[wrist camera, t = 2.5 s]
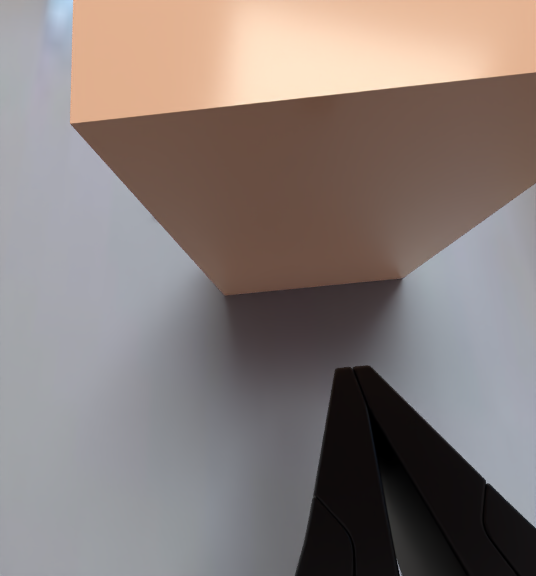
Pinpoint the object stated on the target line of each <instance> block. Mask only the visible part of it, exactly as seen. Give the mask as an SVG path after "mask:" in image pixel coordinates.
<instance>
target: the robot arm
mask: <svg viewBox="0 0 536 576" xmlns="http://www.w3.org/2000/svg"><path fill="white" fill-rule="evenodd" d="M313 497H314V498H313V499H312V504H311V510H310V516H309V521H308V525H307V530H306V535H305V540H304V545H303V548H302V552H301V555H300V559H299V563H298V566H297V570H296V573H295V576H400V575H399V570H398V564H399V567H400V570H401V573H402V576H536V528H535V527H534V526H533V525H532V524H531V523H529V522H528V521H527V520H526V519H525V518H524V517H523V516H522V515H521V514H520V513H519V512H518V511H517V510H516V509H515V508H514V507H513V506H512V505H511V504H509V503H508V502H507V501H506V500H505V499H504V498H503V497H502V496H501V495H500V494H499V493H498V492H497V491H496V490H495V489H494V488H493V487H492V486H491V485H490V484H488V483H487V484H486V480H485V479H484V478H483V477H482V476H481V475H480V474H479V473H478V472H477V471H476V470H475V469H474V468H473V467H472V466H471V465H470V464H469V463H468V462H467V461H466V460H465V459H464V458H463V457H462V456H461V455H460V454H459V453H458V452H457V451H456V450H455V449H454V448H453V447H452V446H451V445H450V444H449V443H448V442H447V441H446V440H445V439H444V438H443V437H442V436H441V435H439V434H438V433H437V432H436V431H435V430H434V429H433V428H432V427H431V426H430V425H429V424H428V423H427V422H426V421H425V420H424V419H423V418H422V417H421V416H420V415H419V414H418V413H417V412H416V411H415V410H414V409H413V408H412V407H411V406H410V405H409V404H408V403H407V402H406V401H405V400H404V399H403V398H402V397H401V396H400V395H399V394H398V393H397V392H396V391H395V390H394V389H393V388H392V387H391V386H390V385H389V384H388V383H387V382H386V381H385V380H384V379H383V378H382V377H381V376H380V375H379V374H378V373H377V372H376V371H375V370H374V369H373V368H372V367H370V366H368V365H366V366H355V367H353V369H352V368H351V367H344V368H337V369H335V373H334V378H333V384H332V390H331V396H330V401H329V407H328V413H327V419H326V425H325V430H324V436H323V442H322V448H321V453H320V459H319V465H318V471H317V476H316V482H315V488H314V494H313ZM396 558H397V559H396ZM397 561H398V564H397Z"/></svg>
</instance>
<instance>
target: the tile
mask: <svg viewBox="0 0 536 576" xmlns="http://www.w3.org/2000/svg"><path fill="white" fill-rule="evenodd" d="M70 124H71V125H72V126H73V127H74V128H75V130H76V131H77V132H78V133H79V134H80V135H81V136H82V137H83V139H84V140H85V141H86V142H87V143H88V144H89V145H90V146H91V147H92V149H93V150H94V151H95V152H96V153H97V154H98V155H99V156H100V157H101V159H102V160H103V161H104V162H105V163H106V164H107V165H108V166H109V167H110V169H111V170H112V171H113V172H114V173H115V174H116V175H117V176H118V178H119V179H120V180H121V181H122V182H123V183H124V184H125V185H126V186H127V188H128V189H129V190H130V191H131V192H132V193H133V194H134V195H135V196H136V198H137V199H138V200H139V201H140V202H141V203H142V204H143V205H144V206H145V208H146V209H147V210H148V211H149V212H150V213H151V214H152V215H153V216H154V218H155V219H156V220H157V221H158V222H159V223H160V224H161V225H162V227H163V228H164V229H165V230H166V231H167V232H168V233H169V234H170V235H171V237H172V238H173V239H174V240H175V241H176V242H177V243H178V244H179V245H180V247H181V248H182V249H183V250H184V251H185V252H186V253H187V254H188V255H189V257H190V258H191V259H192V260H193V261H194V262H195V263H196V264H197V266H198V267H199V268H200V269H201V270H202V271H203V272H204V273H205V274H206V276H207V277H208V278H209V279H210V280H211V281H212V282H213V283H214V284H215V286H216V287H217V288H218V289H219V290H220V291H221V292H222V293H223V294H224V296H225V295H235V294H246V293H256V292H266V291H277V290H287V289H297V288H308V287H318V286H328V285H339V284H349V283H360V282H370V281H380V280H391V279H401V278H404V277H405V276H407V275H408V274H410V273H411V272H412V271H414V270H415V269H417V268H418V267H419V266H421V265H422V264H423V263H425V262H426V261H428V260H429V259H430V258H432V257H433V256H435V255H436V254H437V253H439V252H440V251H442V250H443V249H444V248H446V247H447V246H449V245H450V244H451V243H453V242H454V241H456V240H457V239H458V238H460V237H461V236H463V235H464V234H465V233H467V232H468V231H470V230H471V229H472V228H474V227H475V226H477V225H478V224H479V223H481V222H482V221H484V220H485V219H486V218H488V217H489V216H491V215H492V214H493V213H495V212H496V211H497V210H499V209H500V208H502V207H503V206H504V205H506V204H507V203H509V202H510V201H511V200H513V199H514V198H516V197H517V196H518V195H520V194H521V193H523V192H524V191H525V190H527V189H528V188H530V187H531V186H532V185H534V184H535V183H536V0H73V34H72V72H71V110H70Z"/></svg>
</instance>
